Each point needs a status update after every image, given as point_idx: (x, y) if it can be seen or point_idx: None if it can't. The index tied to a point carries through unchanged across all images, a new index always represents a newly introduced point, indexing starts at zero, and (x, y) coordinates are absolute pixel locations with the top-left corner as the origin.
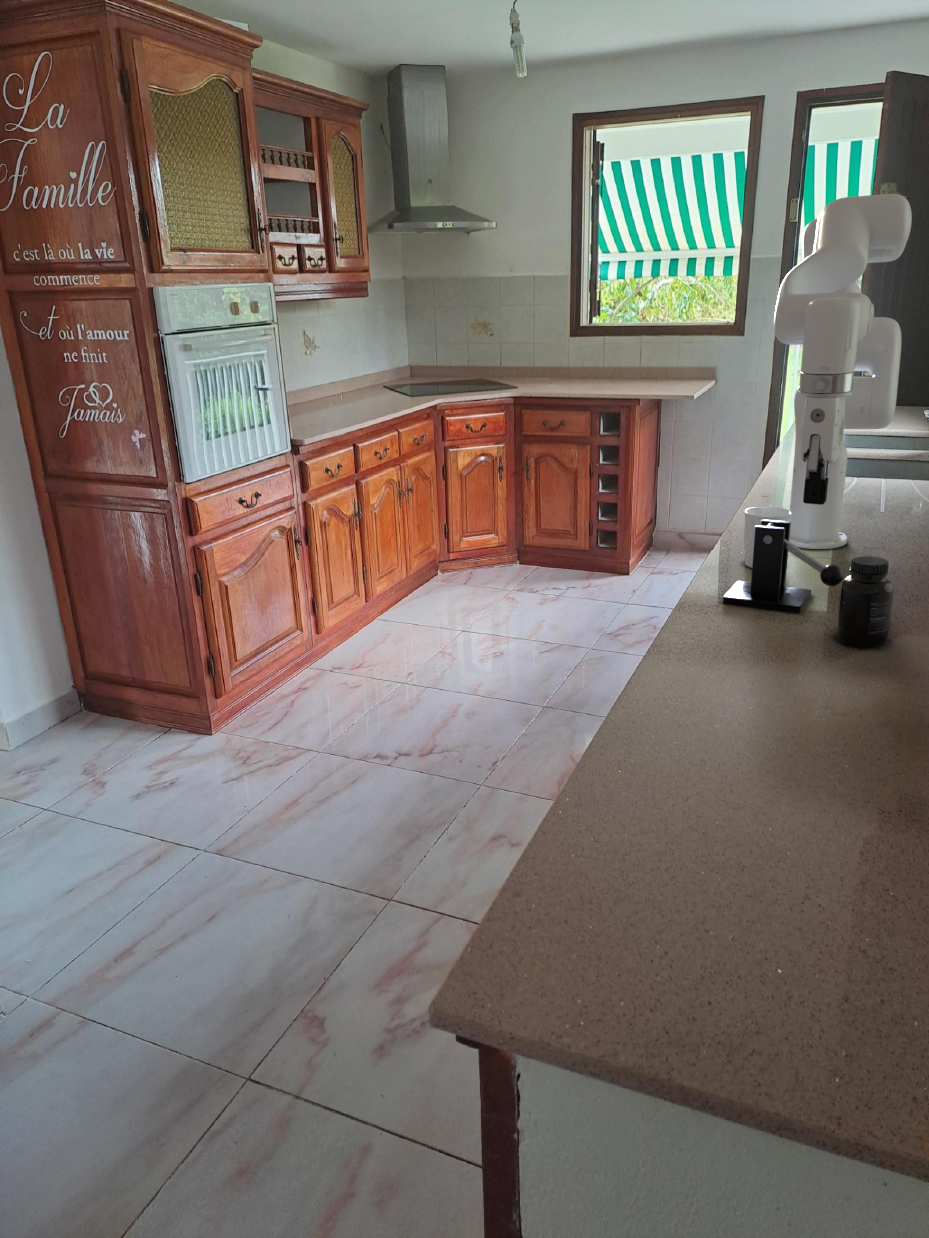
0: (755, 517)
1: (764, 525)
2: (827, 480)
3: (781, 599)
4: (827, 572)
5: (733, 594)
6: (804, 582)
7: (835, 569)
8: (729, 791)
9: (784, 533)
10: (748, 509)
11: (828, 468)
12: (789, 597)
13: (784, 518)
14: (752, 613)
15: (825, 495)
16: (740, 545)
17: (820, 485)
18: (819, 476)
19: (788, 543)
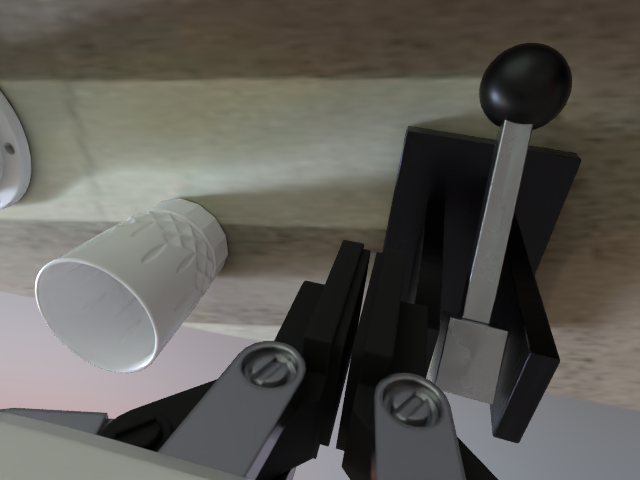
0: (160, 350)
1: None
2: (332, 331)
3: (515, 209)
4: (559, 110)
5: None
6: (288, 144)
7: (559, 82)
8: None
9: (536, 339)
10: (95, 362)
11: (236, 391)
12: None
13: (125, 273)
14: (580, 266)
15: (387, 274)
16: None
17: (402, 359)
18: (466, 454)
19: (496, 289)
